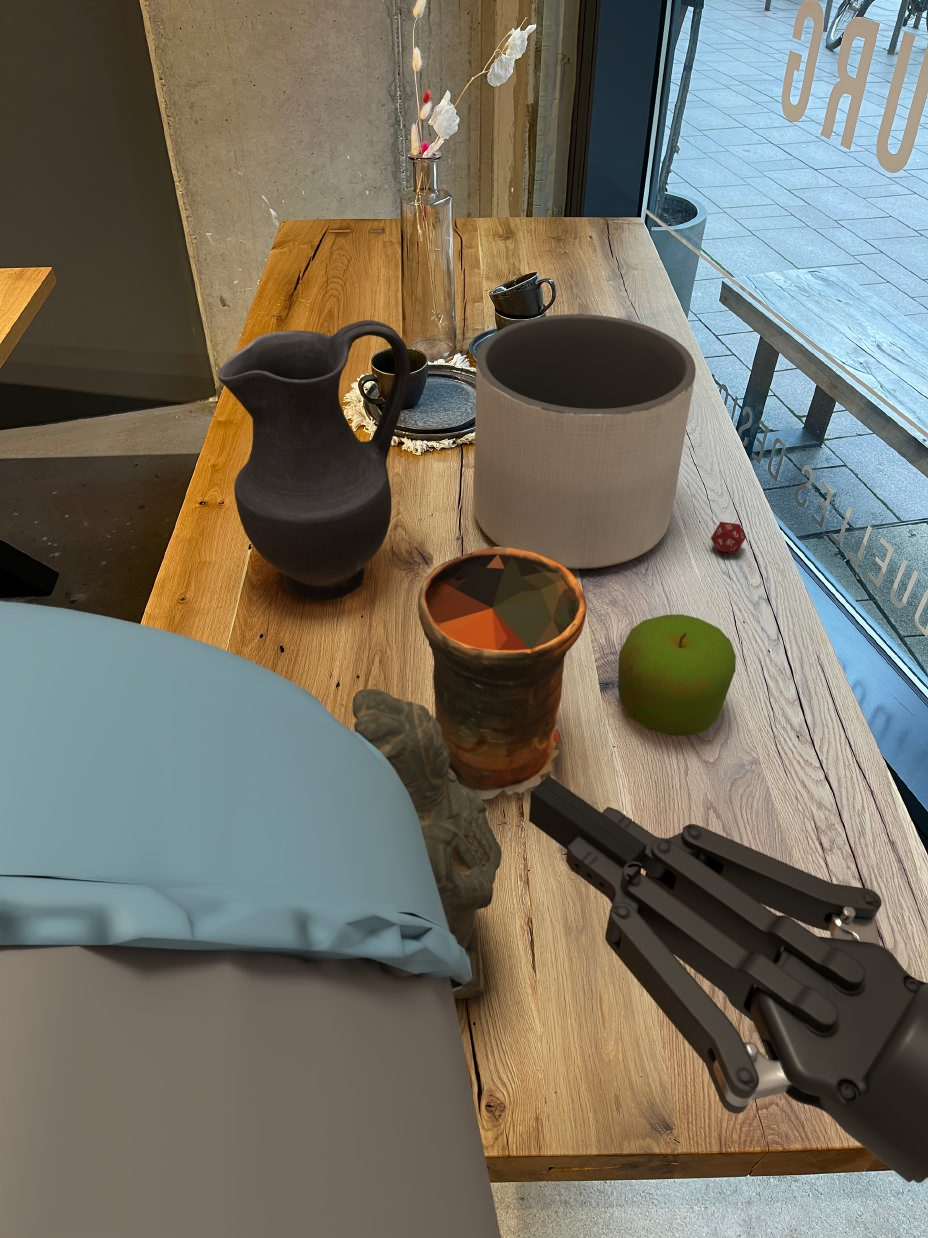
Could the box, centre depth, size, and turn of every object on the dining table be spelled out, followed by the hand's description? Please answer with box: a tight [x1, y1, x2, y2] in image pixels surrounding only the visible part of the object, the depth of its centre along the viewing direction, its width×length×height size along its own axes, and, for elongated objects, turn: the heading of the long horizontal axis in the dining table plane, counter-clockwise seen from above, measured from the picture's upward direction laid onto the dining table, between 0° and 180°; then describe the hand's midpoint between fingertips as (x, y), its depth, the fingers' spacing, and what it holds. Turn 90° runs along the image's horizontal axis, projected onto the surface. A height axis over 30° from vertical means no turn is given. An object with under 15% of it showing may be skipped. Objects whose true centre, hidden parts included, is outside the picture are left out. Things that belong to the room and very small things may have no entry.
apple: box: [617, 613, 737, 737], centre depth 90 cm, size 11×11×11 cm
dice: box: [710, 521, 747, 555], centre depth 112 cm, size 4×4×4 cm
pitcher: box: [218, 319, 411, 602], centre depth 101 cm, size 17×21×30 cm
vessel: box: [417, 546, 587, 800], centre depth 83 cm, size 14×14×20 cm
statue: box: [352, 688, 503, 1000], centre depth 64 cm, size 11×9×30 cm
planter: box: [472, 313, 697, 570], centre depth 112 cm, size 25×25×22 cm
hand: (538, 798), depth 50 cm, fingers closed
